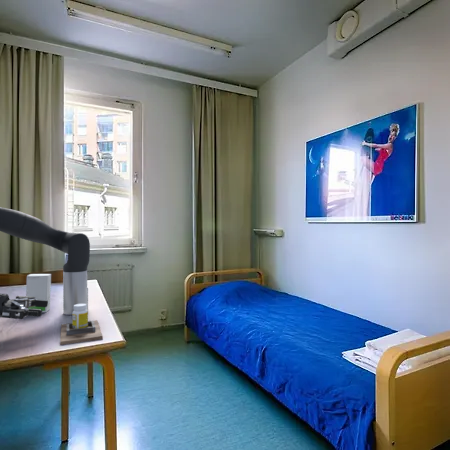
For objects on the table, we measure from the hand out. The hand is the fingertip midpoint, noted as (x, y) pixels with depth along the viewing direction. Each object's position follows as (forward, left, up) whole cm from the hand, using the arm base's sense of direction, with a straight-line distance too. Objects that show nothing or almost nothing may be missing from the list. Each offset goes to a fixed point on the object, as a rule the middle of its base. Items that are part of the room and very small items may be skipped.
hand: (44, 308), depth 111 cm
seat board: (-2, +12, -8) cm, 15 cm away
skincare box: (-27, -23, -9) cm, 37 cm away
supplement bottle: (-2, +12, -8) cm, 14 cm away
